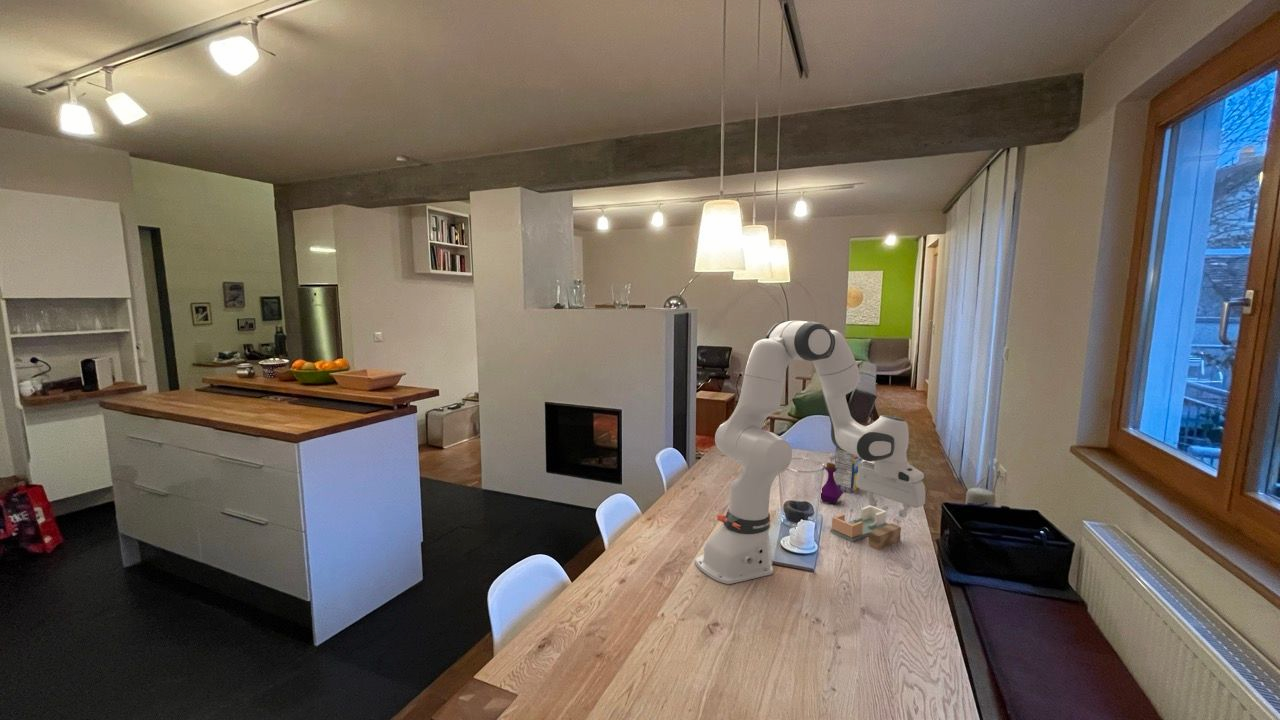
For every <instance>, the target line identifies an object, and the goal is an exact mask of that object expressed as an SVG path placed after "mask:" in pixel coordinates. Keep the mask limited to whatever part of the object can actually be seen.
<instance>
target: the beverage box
mask: <svg viewBox="0 0 1280 720" xmlns="http://www.w3.org/2000/svg"><path fill="white" fill-rule="evenodd" d="M834 455H837V456H836V458H835V459H834V465H835V468H836V469H837V470H836V471H835V472H834V474H833V475H834V480H835V483H836V484H837V485H838V487H839V488H840V489H841V490H842V491H843V493H848V494H853V493H854V491H856V490H857V489H859V488H858V487H857V485H856V478H857V473H858V464H859V462H860V461H863V460H862V459H860V458H858V457H856V456H854V455H852V454H850V453H848V452H846V451H843V450H840V449H838V448H837V447H836V446H835V453H834Z"/></svg>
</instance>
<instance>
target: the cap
mask: <svg viewBox="0 0 1280 720" xmlns="http://www.w3.org/2000/svg"><path fill="white" fill-rule="evenodd" d="M845 517H846V514H844V513H841V514H838V515H836V516H833V517H831V529H834V530H836V531H838V532H841V533H843V534H845V535H847V536H850V537H854V536H857V535H859V534H862V530H863V522H862V521H860V522H857V523H855V524H850V523H848V522H849V521H848V522H847V521H845V520H846V518H845Z"/></svg>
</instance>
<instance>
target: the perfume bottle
mask: <svg viewBox="0 0 1280 720" xmlns="http://www.w3.org/2000/svg"><path fill="white" fill-rule="evenodd" d="M836 456H837V455H835V453H829V454H828V459H829V460H830V462H826V466H825V467H824V470H826V472H827V480H826V482H825V483H824V485H823V486H821V488H822V493H821V498H820V500H821V501H822V502H824V503H828V504H833V505H835V504H836V502H838V500H839V499H840V497H842V495H843V494H844V492H843V491H842V490H841V489H840V488H839V487H838V485H837V484H836V483H835V480H834V472H835V471H836V470H837V469H836V468H835V463H832V461H833V460H835V458H836Z"/></svg>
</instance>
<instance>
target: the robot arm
mask: <svg viewBox="0 0 1280 720" xmlns="http://www.w3.org/2000/svg"><path fill="white" fill-rule="evenodd" d="M792 360H795V361H810V362H812V363H813V365H814V369H815V371H816V374H817V376H818V379H819V382H820V385H821V392H822V396H823V401H824V404H825V407H826V411H827V415H828V417H829V421H830V438H831V441H832V443H833V445H834V446H835V448H836V447H837V448H838V449H840V450H843V451H846V452H848V453H850V454H852V455H854V456H856V457H858V458H860V459H862V461H860V462H859V464H858V473H857V478H856V485H857V487H858V488H857V489H860V490H863V491H865V492H866V496H867V498H868V501H869V505H868V506H870V505H871V506H874V507H876V506H877V505H878V500H877V499H876V498H875V496H874V495H876V496H877V495H878V496H880V497H884V498H886V499H889V500H892V501H895V502H897V503H901V504H902V507H904V508H903V509H899V510H898V516H899V517H901V518H903V519H904V518H906V517H907V515H908V511H909V510H910V509H911V507H912V508H915V509H918V508H920V507H923V506H924V505H925V503H926V486H925V484H924V482H923V479H924V477H925V474H924V472H923V471H921V470H919V469H918V468H916V467H914V466H913V465H911V464H910V463H909V462H908V457H907V452H908V451H907V450H908V449H909V441H910V439H909V435H910V434H909V433H910V431H909V424H908V422H907V421H906V420H905V419H904V418H901V417H900V416H895V415H891V414H881V415H880V416H879V418H877V419H876V420H875V421H873V422H872V423H870V424H869V425H863V424H860V423H859V422H857V421H856V420H855V419H854V418H853V417H852V415H851V411H850V408H849V405H848V402H847V398H846V395H847V394H850V393H851V392H853V391H855V389H856V388H857V387H858V385H859V384H860V380H861V374H860V370H859V367H858V364H857V361H856V359H855V356H854V354H853V352H852V349H851V348H850V346H849V344H848V343H847V341H846V338H845V337H844V336H843V334H842V333H841V332H840V331H837V330H836V329H835V330H834V329H829V328H828V327H827V326H825V325H824V324H822V323H820V322H817V321H804V320H800V319H799V320H789V321H787V320H783V321H780V322H777V323H775V324H773V325H772V326H771V328H770V329H769V330H768V332H767V334H766V336H765V337H764V338H762V339H760V340H757V341H756V342H754V344H753V346H752V348H751V351H750V353H749V356H748V359H747V362H746V366H745V369H744V375H743V379H742V380H743V381H742V386H741V390H740V394H739V399H738V402H737V404H736V407H734V410H733V412H732V413H731V415H730V416H729V418H728V419H727V420H725V421H723V422H722V424H720V425H719V426H718V428H717V429H716V431H715V435H714V442H715V446H716V447H717V449H718V450H719V451H721V453H723V454H724V455H725V456H726V457H727V458H729V459H731V460H734V461H736V462H738V463H740V464H741V466H742V470H741V474H740V476H739V477H736V478H735V479H733V480H732V481H731V483H730V484H729V499H728V501H729V502H728V508H727V511H726V513H725V514H723V513H718V515H717V517H716V519H717V521H719V522H721V523H723V524H722V525H721V526H720V528H718V530H717V531H716V532H715V533H713V535H712V536H710V538H709V539H708V540H707V541H706V543H705V546H704V552H703V554H700V555H699V556H698V557H696V558H695V561H694V562H695V563H694V564H695V565H696V567H697V568H698V570H700V571H701V572H702V573H704V574H705V575H707V576H708V577H709V578H711V579H713V580H715V581H717V582H719V583H723V584H725V585H731V584H735V583H740V582H744V581H748V580H752V579H756V578H760V577H761V578H762V577H767V576H770V575H773V574H774V567H773V559H772V554H771V541H770V535H769V528H770V524H771V514H770V512H769V511H770V496H771V489H772V486H773V483H774V481H775V479H776V478H777V476H779V475H780V474H782V473H783V472H785V471H786V470H787V469H788V468H789V467H790V464H791V462H792V459H793V451H792V447H791V445H790V443H789V442H788V441H787V440H785V439H784V438H783V437H782V436H779V435H778V434H777V433H774V432H771V431H769V430H766V429H763V425H764V423H765V421H766V419H767V418H768V417H769V416H772V414H775V413H777V411H779V409H780V406H781V402H782V396H783V390H784V385H785V381H786V374H787V369H788V366H789V364H790V362H791V361H792Z"/></svg>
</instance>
